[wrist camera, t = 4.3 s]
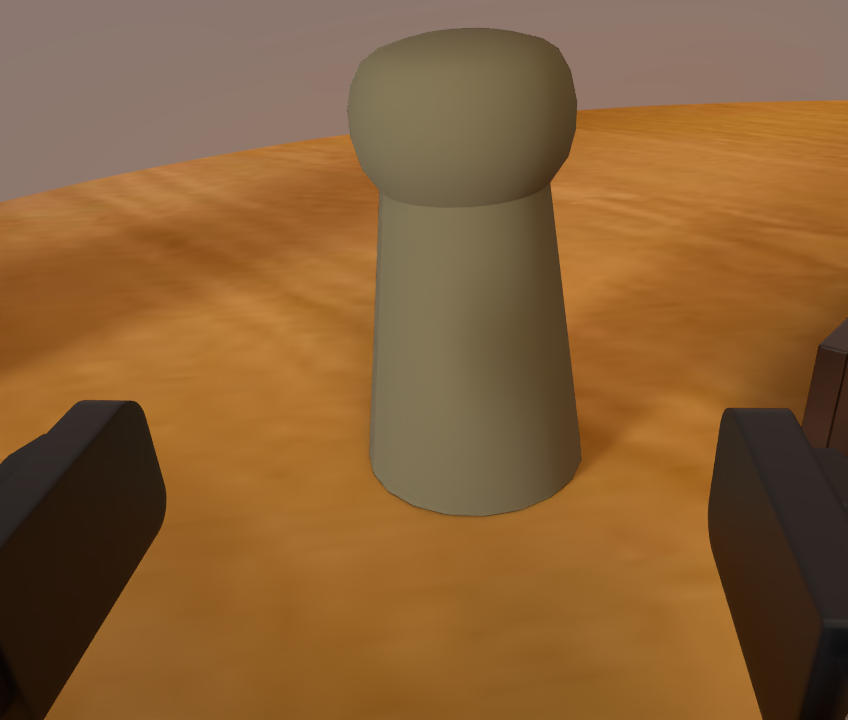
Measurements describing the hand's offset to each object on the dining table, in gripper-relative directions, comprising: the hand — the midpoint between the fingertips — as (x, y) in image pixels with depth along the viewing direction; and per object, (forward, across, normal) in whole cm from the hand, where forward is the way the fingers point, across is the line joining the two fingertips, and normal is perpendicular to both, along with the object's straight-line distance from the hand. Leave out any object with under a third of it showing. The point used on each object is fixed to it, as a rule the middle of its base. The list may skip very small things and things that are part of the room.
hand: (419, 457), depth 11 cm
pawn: (+9, 0, +7) cm, 12 cm away
